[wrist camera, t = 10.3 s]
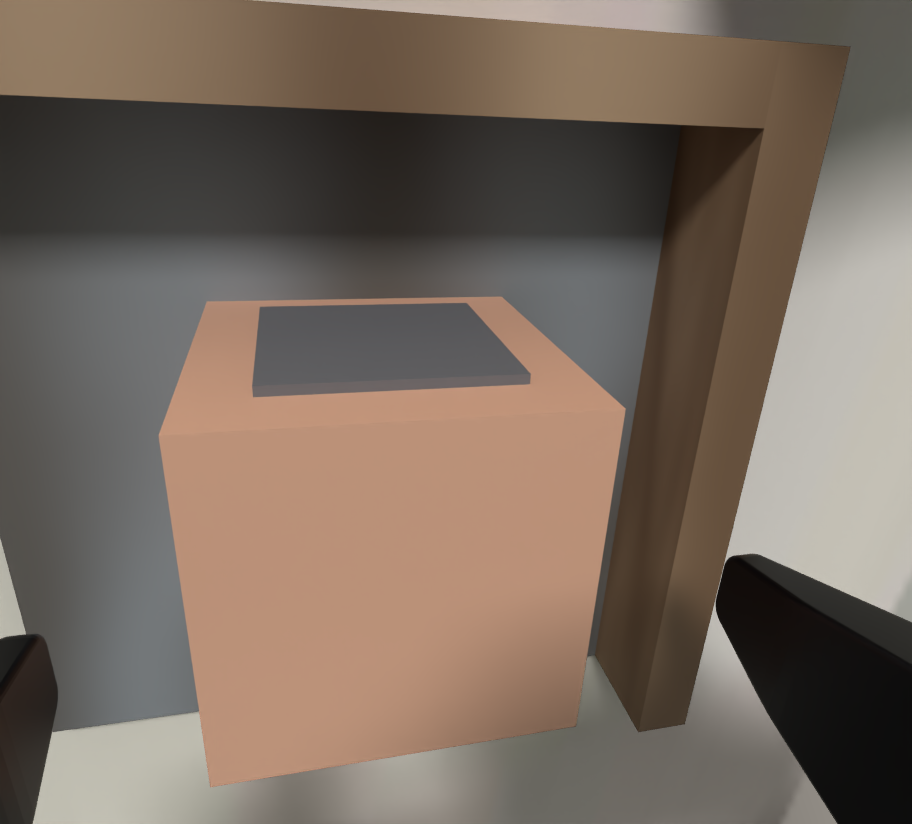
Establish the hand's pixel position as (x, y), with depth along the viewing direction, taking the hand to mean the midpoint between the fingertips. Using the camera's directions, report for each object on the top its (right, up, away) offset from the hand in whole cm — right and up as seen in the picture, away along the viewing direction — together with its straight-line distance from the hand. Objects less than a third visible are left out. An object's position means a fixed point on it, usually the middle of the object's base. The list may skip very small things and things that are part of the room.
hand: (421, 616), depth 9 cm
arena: (-2, +2, +6) cm, 6 cm away
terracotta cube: (-1, +2, +5) cm, 6 cm away
